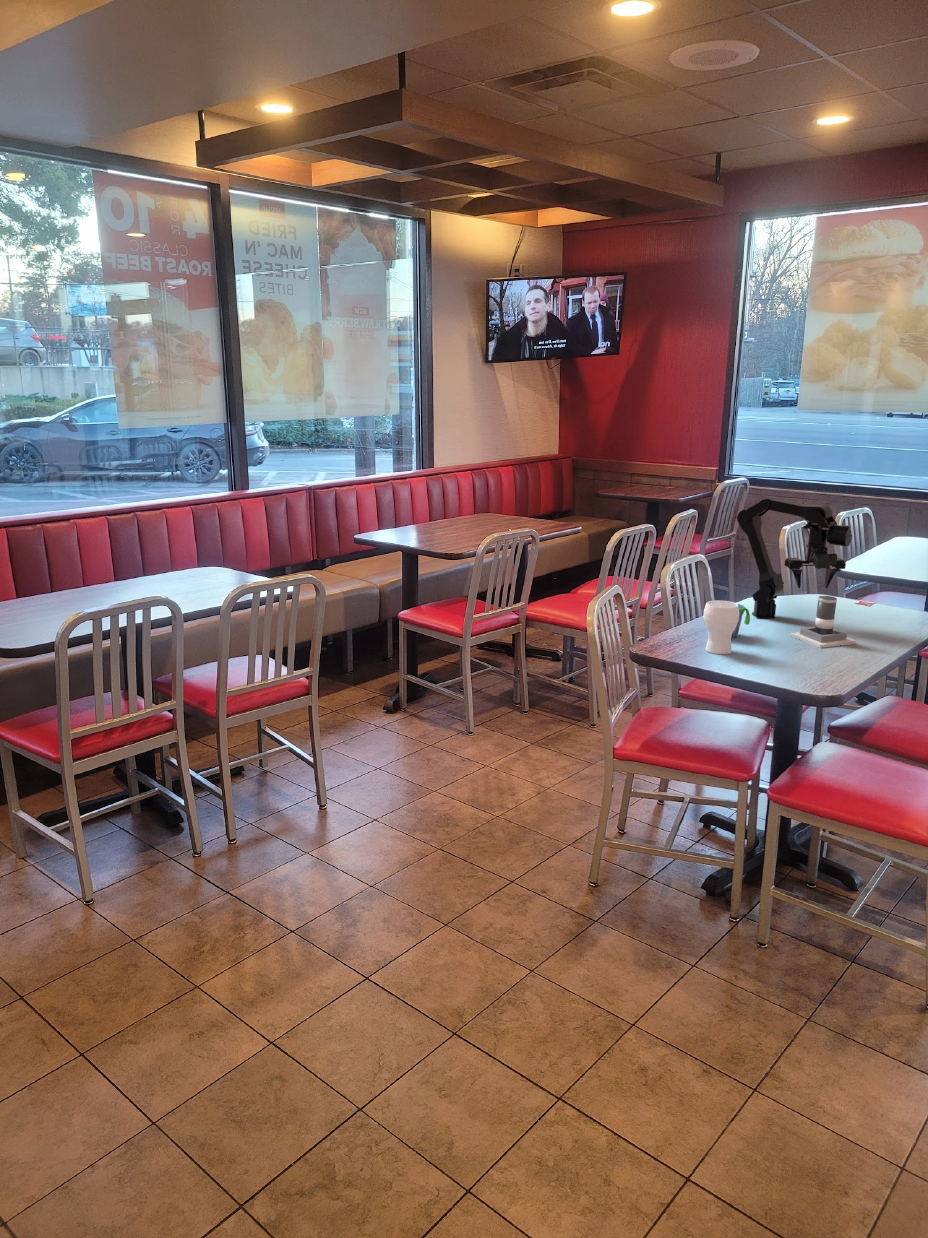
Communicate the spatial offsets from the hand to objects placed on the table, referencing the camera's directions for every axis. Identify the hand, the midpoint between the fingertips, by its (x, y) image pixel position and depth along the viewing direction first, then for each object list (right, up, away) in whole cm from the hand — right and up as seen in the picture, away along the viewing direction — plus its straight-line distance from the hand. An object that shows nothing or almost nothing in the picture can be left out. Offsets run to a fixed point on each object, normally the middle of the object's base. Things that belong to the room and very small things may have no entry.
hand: (812, 588), depth 305 cm
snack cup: (-32, -16, -9) cm, 37 cm away
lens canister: (-2, -16, -14) cm, 22 cm away
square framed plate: (-2, -17, -14) cm, 22 cm away
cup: (-39, -21, -25) cm, 51 cm away
